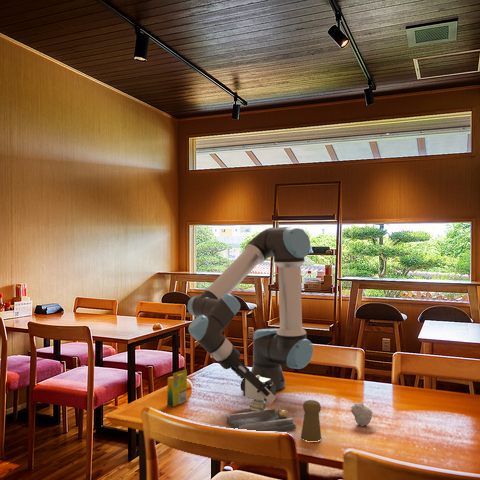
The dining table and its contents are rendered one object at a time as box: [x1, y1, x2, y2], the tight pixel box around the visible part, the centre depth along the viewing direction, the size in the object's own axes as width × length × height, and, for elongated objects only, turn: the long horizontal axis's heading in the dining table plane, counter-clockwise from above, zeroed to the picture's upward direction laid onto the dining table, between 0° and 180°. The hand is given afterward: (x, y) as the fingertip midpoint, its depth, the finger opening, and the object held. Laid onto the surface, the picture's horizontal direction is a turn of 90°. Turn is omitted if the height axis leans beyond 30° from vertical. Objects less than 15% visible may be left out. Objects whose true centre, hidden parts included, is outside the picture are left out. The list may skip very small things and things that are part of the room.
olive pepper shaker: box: [300, 399, 322, 441], centre depth 133 cm, size 6×6×11 cm
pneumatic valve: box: [240, 375, 277, 412], centre depth 156 cm, size 6×12×12 cm, turn 58°
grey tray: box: [226, 408, 297, 432], centre depth 142 cm, size 18×13×4 cm
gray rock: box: [350, 402, 374, 426], centre depth 144 cm, size 6×7×7 cm
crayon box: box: [166, 369, 188, 408], centre depth 161 cm, size 7×3×12 cm, turn 145°
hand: (264, 394), depth 157 cm, fingers open, 12 cm apart
